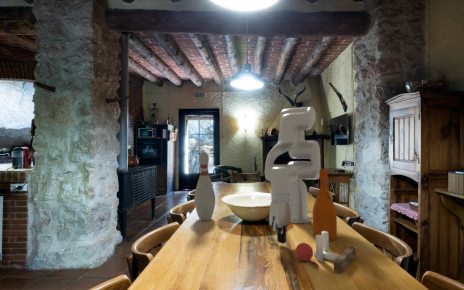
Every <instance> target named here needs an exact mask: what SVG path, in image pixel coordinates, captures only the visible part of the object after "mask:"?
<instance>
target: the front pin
mask: <svg viewBox="0 0 464 290" xmlns="http://www.w3.org/2000/svg"><path fill="white" fill-rule="evenodd" d="M313 256H314V257H316V248H315V249H314V250H313ZM339 256H340V255H339V254H336V253H331V252H329V253H328V252H325V251H323V260H328V261H331V262H334V260H336V259H337V258H338V257H339Z"/></svg>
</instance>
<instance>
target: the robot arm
mask: <svg viewBox="0 0 464 290" xmlns="http://www.w3.org/2000/svg"><path fill="white" fill-rule="evenodd" d="M279 114H280V122H279V129H278V139H277V143H276V144H275V145H274V146H273V147H272V148H271V149H270V151H269V152H268V154H267V156H266V160H265V165H264V177H265V180H266V181H268V182H270V190H271V191H270V193H271V194H270V196H271V199H270V204H269V205H270V206H269V226H271V227H272V231H274V232H276V240H277V243H280V244H285V243H287V230H288V226H289V225H290V223H293V224H307V223H310V222H311V221H312V220H311V217H310V216H308V214H311V213H310V212H311V211H310V209H308V188H307V184H306V183H305V182H304V181H303V180H320V179H319V177H320V173H319V170H320V169H322V168H321V166H322V165H321V149H320V145H319V142H318V141H317V140H306V139H305V131H309V130H311V129H312V128H313V125H314V123H315V120H316V116H317V115H316V109H314V107H313V106H301V107H291V108H284V109H282V110H281V111H280V113H279ZM287 152H288V155H289V157H290V158H291V159H298V160H295V161H289V162H288V163H287V164H275V163H274V162H275V160H276V159H277V158H278V157H279V156H280V155H283V154H284V153H287ZM301 159H302V160H301ZM303 159H304V160H303ZM305 159H306V161H305ZM307 160H309V161H307Z"/></svg>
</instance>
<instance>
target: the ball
mask: <svg viewBox="0 0 464 290" xmlns="http://www.w3.org/2000/svg"><path fill="white" fill-rule="evenodd" d="M295 255H296V257H297V259H299V260H300V261H303V262H308V261H311V259H312V258H313V256H314V250H313V248H312V246H311V245H310V244H309V243H307V242H301V243H299V244H297V246H296V248H295Z"/></svg>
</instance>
